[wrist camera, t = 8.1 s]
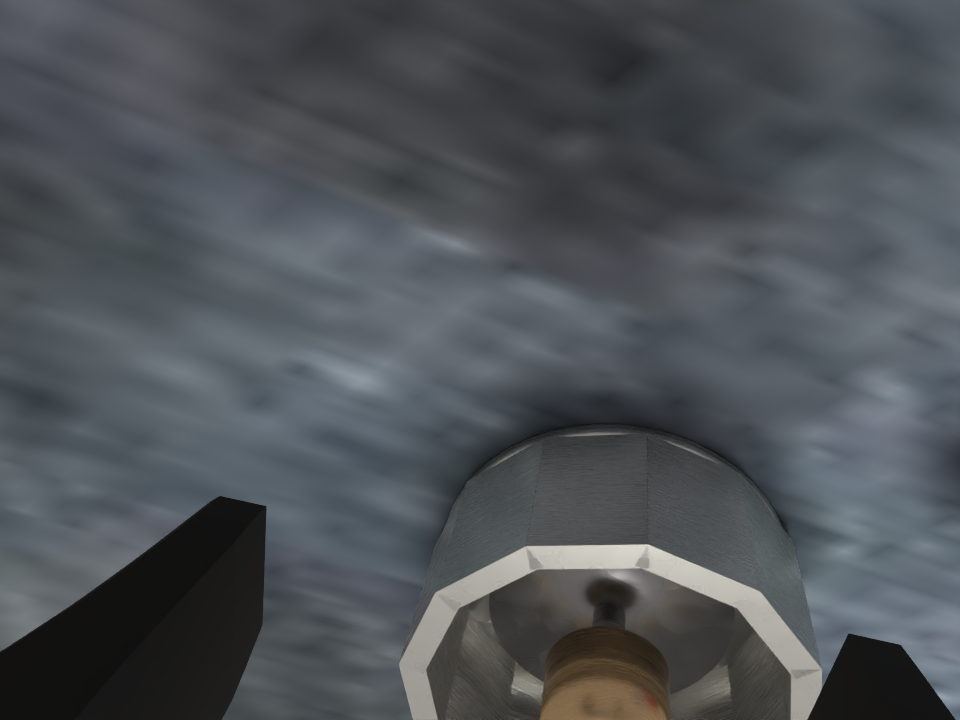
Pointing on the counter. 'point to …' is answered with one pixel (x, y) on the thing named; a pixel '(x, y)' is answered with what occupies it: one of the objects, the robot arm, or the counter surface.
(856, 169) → the counter surface
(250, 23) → the counter surface
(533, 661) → the plunger
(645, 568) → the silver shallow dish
